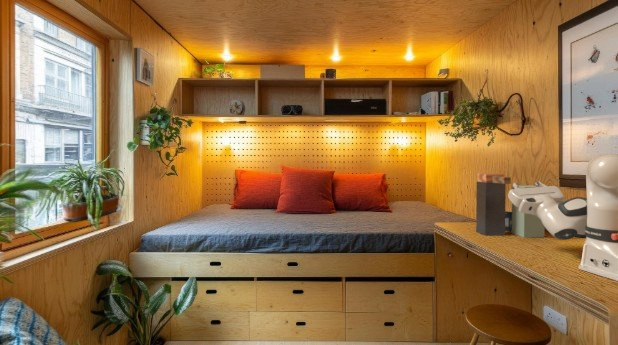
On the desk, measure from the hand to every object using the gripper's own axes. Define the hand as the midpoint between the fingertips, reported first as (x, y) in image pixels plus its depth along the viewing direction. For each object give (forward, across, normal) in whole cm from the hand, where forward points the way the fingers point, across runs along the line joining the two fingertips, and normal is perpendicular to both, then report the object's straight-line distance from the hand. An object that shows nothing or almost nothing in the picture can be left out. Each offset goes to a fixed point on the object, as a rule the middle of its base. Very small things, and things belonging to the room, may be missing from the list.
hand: (525, 183), depth 154 cm
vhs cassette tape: (+8, -4, +41) cm, 42 cm away
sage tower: (-2, -10, +33) cm, 34 cm away
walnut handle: (+14, +4, +11) cm, 19 cm away
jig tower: (+2, +6, +34) cm, 35 cm away
